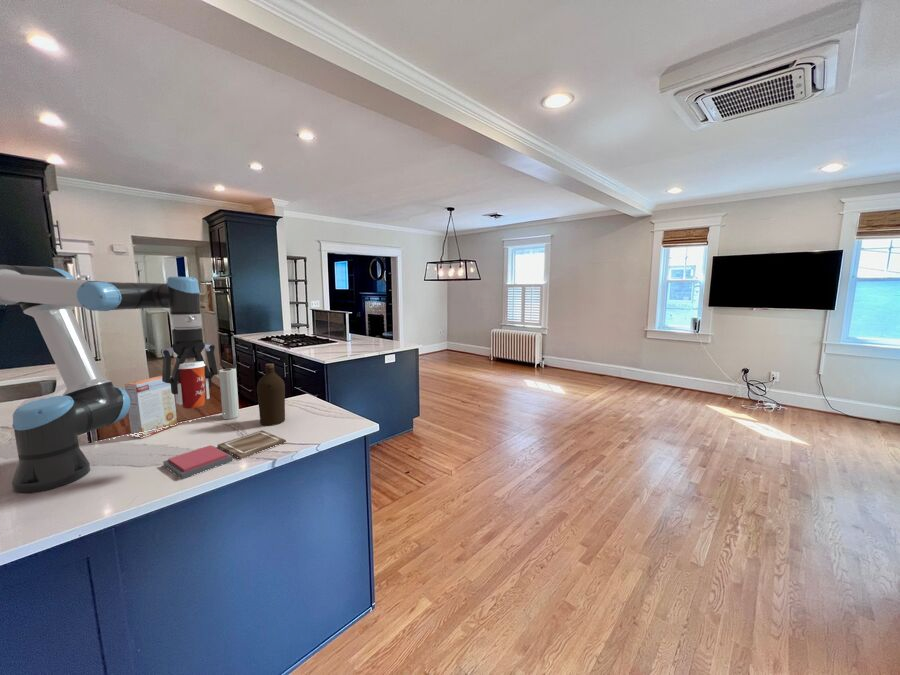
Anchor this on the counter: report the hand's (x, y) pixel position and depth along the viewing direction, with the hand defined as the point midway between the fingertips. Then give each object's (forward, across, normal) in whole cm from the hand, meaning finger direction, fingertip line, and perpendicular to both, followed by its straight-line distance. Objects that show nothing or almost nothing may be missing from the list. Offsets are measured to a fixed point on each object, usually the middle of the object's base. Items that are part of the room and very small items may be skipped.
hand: (193, 400), depth 111 cm
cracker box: (+21, +2, +44) cm, 49 cm away
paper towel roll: (+21, +27, +36) cm, 50 cm away
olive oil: (+21, +34, +16) cm, 43 cm away
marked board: (+21, +17, 0) cm, 27 cm away
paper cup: (+2, 0, 0) cm, 2 cm away
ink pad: (+21, 0, 0) cm, 21 cm away
